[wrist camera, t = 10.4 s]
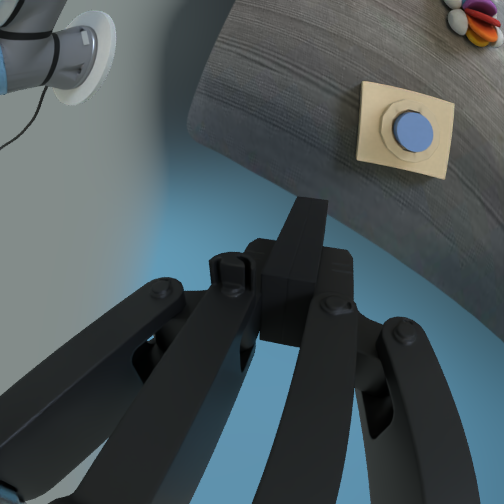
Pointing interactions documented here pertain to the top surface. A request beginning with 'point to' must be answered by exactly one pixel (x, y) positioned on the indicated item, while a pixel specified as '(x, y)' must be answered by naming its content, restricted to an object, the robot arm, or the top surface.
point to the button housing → (382, 134)
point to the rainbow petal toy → (476, 21)
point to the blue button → (413, 131)
